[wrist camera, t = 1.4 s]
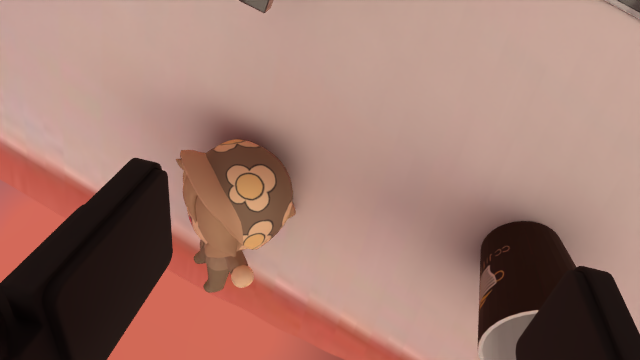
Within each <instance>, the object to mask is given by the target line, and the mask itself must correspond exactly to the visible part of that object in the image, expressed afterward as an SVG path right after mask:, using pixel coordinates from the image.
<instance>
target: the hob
mask: <svg viewBox="0 0 640 360" xmlns="http://www.w3.org/2000/svg"><path fill="white" fill-rule="evenodd" d="M604 1H606V2H608V3H610V4H611V5H613V6H615V7H617V8H619V9H621V10H622V11H624V12H626V13H628V14H630V15H632V16H634V17H635V18H637V19H639V20H640V0H604Z"/></svg>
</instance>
